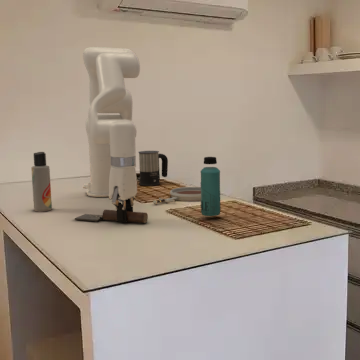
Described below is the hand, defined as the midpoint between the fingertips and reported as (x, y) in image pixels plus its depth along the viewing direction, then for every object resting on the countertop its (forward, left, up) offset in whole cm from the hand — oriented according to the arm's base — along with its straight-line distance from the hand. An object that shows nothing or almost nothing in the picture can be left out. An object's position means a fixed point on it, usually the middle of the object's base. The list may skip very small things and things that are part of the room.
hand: (125, 219), depth 154 cm
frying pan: (+4, +38, -1) cm, 38 cm away
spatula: (-4, 0, 0) cm, 5 cm away
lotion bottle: (-35, +7, -1) cm, 35 cm away
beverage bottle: (+24, +12, -1) cm, 27 cm away
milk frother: (-25, +68, -1) cm, 72 cm away
